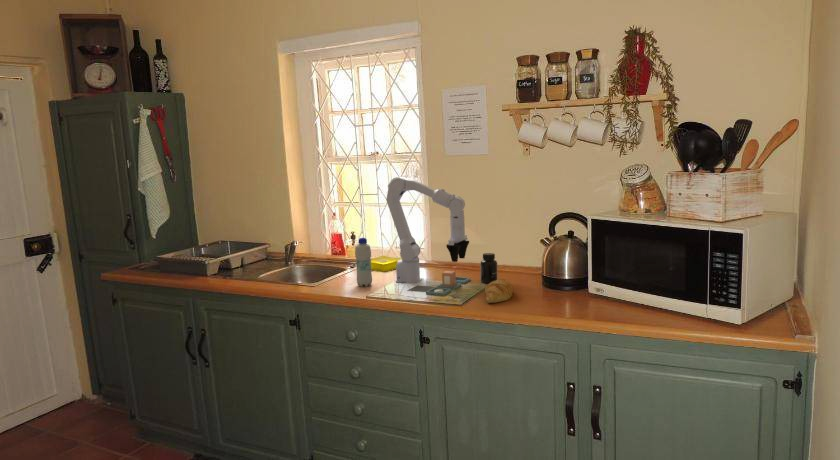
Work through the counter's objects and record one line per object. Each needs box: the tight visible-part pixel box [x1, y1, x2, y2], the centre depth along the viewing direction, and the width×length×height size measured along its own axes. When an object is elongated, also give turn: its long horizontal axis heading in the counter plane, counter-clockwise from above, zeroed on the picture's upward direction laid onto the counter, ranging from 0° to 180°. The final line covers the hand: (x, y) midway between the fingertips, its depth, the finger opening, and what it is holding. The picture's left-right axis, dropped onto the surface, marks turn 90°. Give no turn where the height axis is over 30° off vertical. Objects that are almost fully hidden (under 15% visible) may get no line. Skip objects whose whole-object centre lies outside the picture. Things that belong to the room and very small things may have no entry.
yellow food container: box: [371, 255, 402, 273], centre depth 273 cm, size 15×15×5 cm
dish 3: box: [456, 276, 471, 285], centre depth 236 cm, size 7×7×1 cm
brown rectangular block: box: [441, 270, 457, 287], centre depth 227 cm, size 4×4×6 cm
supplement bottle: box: [480, 252, 498, 285], centre depth 233 cm, size 7×7×12 cm
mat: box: [407, 285, 437, 293], centre depth 226 cm, size 9×9×1 cm
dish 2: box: [436, 283, 462, 291], centre depth 227 cm, size 7×7×1 cm
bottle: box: [354, 237, 373, 288], centre depth 236 cm, size 7×7×20 cm
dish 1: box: [425, 288, 452, 297], centre depth 219 cm, size 7×7×1 cm
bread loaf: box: [484, 278, 514, 304], centre depth 210 cm, size 21×10×8 cm, turn 153°
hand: (458, 259), depth 235 cm, fingers open, 7 cm apart
